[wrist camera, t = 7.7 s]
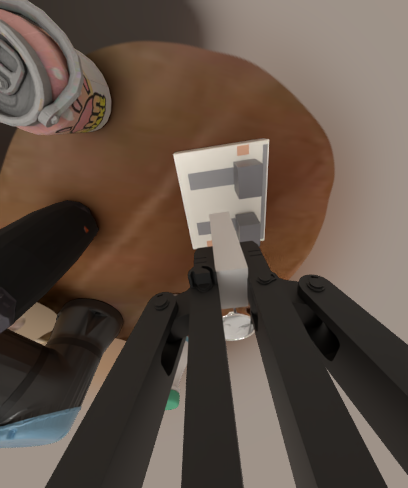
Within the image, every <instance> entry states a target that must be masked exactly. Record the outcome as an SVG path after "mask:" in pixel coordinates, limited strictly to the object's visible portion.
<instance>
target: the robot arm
mask: <svg viewBox="0 0 408 488" xmlns="http://www.w3.org/2000/svg"><path fill="white" fill-rule="evenodd" d="M209 218H210V227H211V236H212V245H213V246H210V247H202V248H197V250H196V251H195V253H194V267H193V268H192V269H191V270H190V271H189V272H188V279H189V283H190V288H189V289H188V290H187V291H185V292H183V293H181V294H178V295H176V296H174V295H173V294H172V293H169V292H162V293H159V294H156V295H155V296H154V297H152V298H151V300H150V301H149V302H148V304H147V306H146V307H145V309H144V311H143V313H142V315H141V316H140V318H139V320H138V322H137V324H136V325H135V327H134V329H133V331H132V333H131V334H130V336H129V338H128V340H127V341H126V343H125V345H124V347H123V349H122V350H121V352H120V354H119V356H118V358H117V359H116V361H115V363H114V365H113V367H112V369H111V370H110V372H109V374H108V376H107V377H106V379H105V381H104V383H103V385H102V387H101V388H100V390H99V392H98V393H97V395H96V397H95V399H94V401H93V402H92V404H91V406H90V408H89V410H88V411H87V413H86V415H85V417H84V419H83V420H82V422H81V424H80V426H79V427H78V429H77V431H76V433H75V435H74V436H73V438H72V440H71V442H70V444H69V445H68V447H67V449H66V451H65V453H64V455H63V456H62V458H61V460H60V461H59V463H58V465H57V467H56V469H55V470H54V472H53V474H52V476H51V478H50V479H49V481H48V483H47V485H46V487H45V488H142V485H143V482H144V478H145V475H146V471H147V468H148V465H149V462H150V458H151V455H152V451H153V448H154V445H155V441H156V438H157V434H158V431H159V428H160V425H161V421H162V418H163V414H164V411H165V408H166V404H167V401H168V398H169V394H170V391H171V388H172V384H173V381H174V378H175V374H176V371H177V368H178V364H179V361H180V357H181V354H182V351H183V347H184V344H185V341H186V337H187V336H188V355H187V377H186V378H187V379H186V398H185V419H184V440H183V441H184V442H183V462H182V482H181V488H244V485H243V477H242V469H241V462H240V453H239V447H238V438H237V430H236V422H235V414H234V405H233V398H232V389H231V381H230V373H229V365H228V358H227V349H226V341H225V333H224V325H223V318H222V310H221V309H228V308H237V307H246V306H248V302H249V305H250V324H253V327H254V330H255V334H256V338H257V342H258V345H259V349H260V353H261V357H262V360H263V364H264V368H265V372H266V375H267V379H268V383H269V387H270V390H271V394H272V398H273V402H274V405H275V409H276V413H277V417H278V420H279V424H280V427H281V432H282V435H283V439H284V443H285V447H286V450H287V454H288V458H289V462H290V465H291V469H292V473H293V477H294V481H295V484H296V488H388V487H387V485H386V483H385V481H384V479H383V477H382V475H381V474H380V472H379V470H378V468H377V466H376V464H375V462H374V460H373V458H372V456H371V454H370V452H369V450H368V448H367V447H366V445H365V443H364V441H363V439H362V437H361V435H360V433H359V431H358V429H357V427H356V425H355V423H354V421H353V420H352V418H351V416H350V414H349V412H348V410H347V408H346V406H345V404H344V402H343V400H342V398H341V397H340V394H339V393H338V391H337V389H336V387H335V385H334V383H333V381H332V379H331V377H330V375H329V373H328V371H329V372H330V374H331V375H332V376H333V378H334V379H335V380H336V382H337V383H338V384H339V385H340V387H341V388H342V389H343V391H344V392H345V393H346V395H347V396H348V397H349V399H350V400H351V401H352V402H353V404H354V405H355V406H356V408H357V409H358V410H359V412H360V413H361V414H362V415H363V417H364V418H365V420H366V421H367V422H368V424H369V425H370V426H371V427H372V429H373V430H374V431H375V433H376V434H377V435H378V437H379V438H380V439H381V441H382V442H383V443H384V444H385V446H386V447H387V448H388V450H389V451H390V452H391V454H392V455H393V456H394V458H395V459H396V460H397V461H398V463H399V464H400V466H401V467H402V468H403V469H404V471H405V472H406V473H407V475H408V345H407V344H406V343H405V342H404V341H402V340H401V339H400V338H398V337H397V336H396V335H395V334H394V333H392V332H391V331H390V330H389V329H388V328H386V327H385V326H384V325H383V324H381V323H380V322H379V321H378V320H377V319H375V318H374V317H373V316H371V315H370V314H369V313H368V312H367V311H365V310H364V309H363V308H362V307H361V306H359V305H358V304H357V303H356V302H354V301H353V300H352V299H351V298H349V297H348V296H347V295H346V294H344V293H343V292H342V291H341V290H339V289H338V288H337V287H336V286H335V285H333V284H332V283H331V282H330V281H328V280H327V279H325V278H323V277H320V276H318V275H305V276H303V277H301V278H300V280H299V282H297V281H288V280H283V279H281V278H279V277H278V276H277V275H276V274H275V273H273V272H272V271H271V270H270V268H269V266H268V264H267V262H266V260H265V258H264V256H263V255H262V252H261V251H260V248H259V246H258V244H256V243H255V242H254V241H245V242H239V240H238V237H237V234H236V231H235V229H234V226H233V223H232V220H231V217H230V214H229V211H228V212H221V213H214V214H209ZM122 325H123V318H122V316H121V315H120V313H119V312H118V311H117V310H116V309H114V308H113V307H112V306H110V305H108V304H106V303H103V302H100V301H97V300H92V299H76V300H72V301H69V302H68V303H66V304H65V305H64V306H63V308H62V309H61V310H60V312H59V313H58V315H57V318H56V323H55V326H54V328H53V331H52V334H51V337H50V339H49V341H48V342H47V344H46V345H45V346H43V345H41V344H39V343H37V342H35V341H33V340H30V339H28V338H26V337H24V336H22V335H19V334H17V333H15V332H13V331H11V330H9V329H6V330H4V331H3V332H2V333H0V448H13V447H31V446H40V445H46V444H51V443H55V442H57V441H59V440H61V439H62V438H63V437H65V436H66V434H67V433H68V432H69V430H70V429H71V427H72V424H73V422H74V420H75V418H76V416H77V414H78V412H79V411H80V410H81V405H82V403H83V400H84V398H85V396H86V393H87V391H88V388H89V386H90V384H91V381H92V379H93V376H94V374H95V372H96V369H97V367H98V365H99V362H100V360H101V357H102V355H103V353H104V352H105V351H106V349H107V348H108V347H109V345H110V344H111V343H112V341H113V340H114V338H116V337H117V335H118V334H119V332H120V330H121V328H122ZM326 368H327V369H326ZM327 370H328V371H327Z"/></svg>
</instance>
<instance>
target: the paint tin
mask: <svg viewBox="0 0 408 488" xmlns="http://www.w3.org/2000/svg"><path fill="white" fill-rule="evenodd" d="M10 12H11V13H10ZM13 13H15V14H19V15H23V16H24V17H26V18H28V19H29V20H31V21H33V22H34V23H36V24H38V25H39V26H41V27H42V28H43V29H44V30H45V31H44V30H42V29H41V28H39V27H37V26H36V25H34V24H32V23H30V22H29V21H27V20H25V19H24V18H22V17H20V16H17V15H15V14H13ZM110 113H111V96H110V92H109V87H108V85H107V83H106V81H105V79H104V77H103V74H102V73H101V72H100V70H99V69H98V68H97V66H96V65H95V64H94V62H93V61H91V60H90V59H89V58H88V57H86V56H85V55H84V54H83V53H81V52H80V51H78V50H76V49H75V48H74V47H73V45H72V43H71V42H70V40H69V38H68V37H67V35H66V34H65V33H64V32H63V31H62V30H61V29H60V28H59V27H58V26H57V25H56V24H55V23H54V22H53V21H52V20H51V18H50V17H49V16H48V15H47V14H46V13H45V12H44V11H42V10H41V9H39V8H38V7H36V6H35V5H33V4H32V3H30V2H29V1H27V0H0V122H2V123H4V124H7V125H11V126H17V127H18V128H20V129H22V130H25V131H28V132H31V133H34V134H37V135H57V134H69V133H82V132H93V131H96V130H98V129H101V128H102V127H103V126H104V125H105V124H106V122H107V121H108V118H109V116H110Z"/></svg>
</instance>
